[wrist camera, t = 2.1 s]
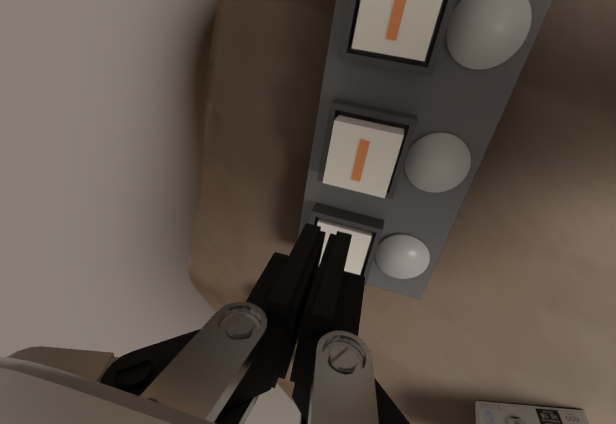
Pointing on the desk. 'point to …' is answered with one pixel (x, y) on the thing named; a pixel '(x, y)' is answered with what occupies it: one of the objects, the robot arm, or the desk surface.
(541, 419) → the light bulb box
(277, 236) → the desk surface
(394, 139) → the middle button
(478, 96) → the button panel
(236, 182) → the desk surface
